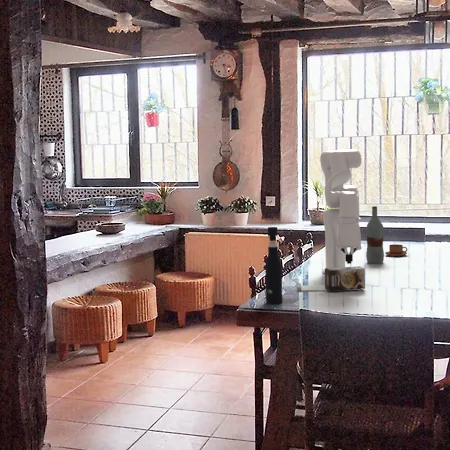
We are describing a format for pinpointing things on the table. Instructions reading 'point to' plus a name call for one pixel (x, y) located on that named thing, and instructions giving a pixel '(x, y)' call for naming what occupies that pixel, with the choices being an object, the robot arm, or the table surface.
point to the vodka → (374, 239)
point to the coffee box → (344, 278)
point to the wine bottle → (273, 270)
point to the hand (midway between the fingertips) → (349, 263)
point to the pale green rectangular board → (313, 288)
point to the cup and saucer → (396, 250)
